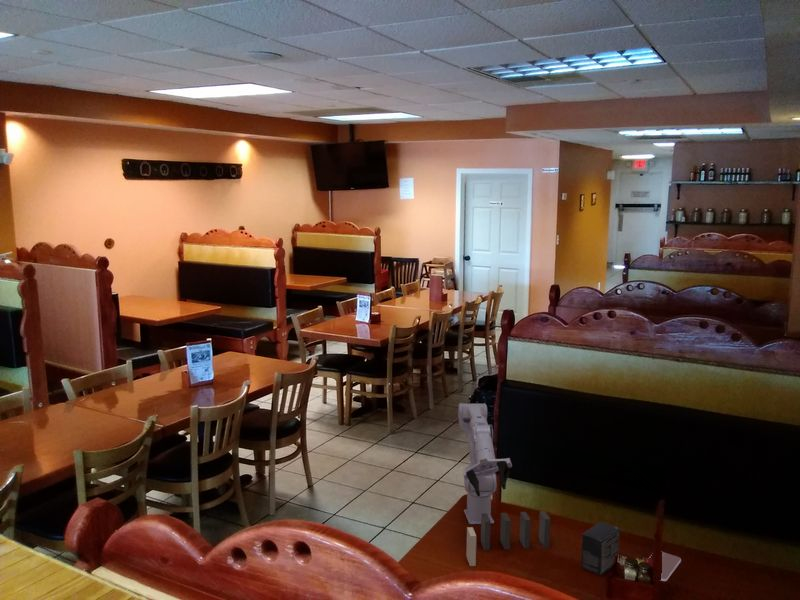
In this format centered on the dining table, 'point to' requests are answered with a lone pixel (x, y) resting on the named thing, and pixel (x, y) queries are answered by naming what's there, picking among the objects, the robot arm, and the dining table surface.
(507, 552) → the dining table surface
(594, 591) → the dining table surface
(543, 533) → the grey domino
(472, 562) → the ivory domino
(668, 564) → the mobile phone
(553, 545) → the dining table surface
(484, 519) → the grey domino
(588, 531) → the small box
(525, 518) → the grey domino
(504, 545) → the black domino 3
